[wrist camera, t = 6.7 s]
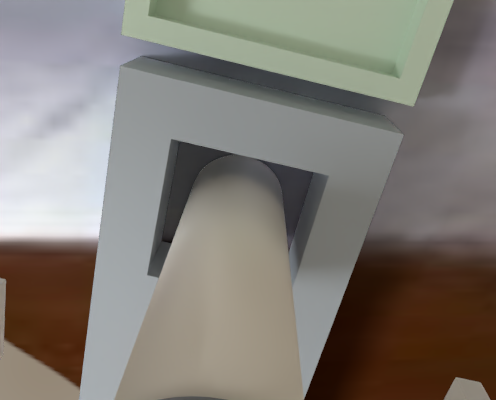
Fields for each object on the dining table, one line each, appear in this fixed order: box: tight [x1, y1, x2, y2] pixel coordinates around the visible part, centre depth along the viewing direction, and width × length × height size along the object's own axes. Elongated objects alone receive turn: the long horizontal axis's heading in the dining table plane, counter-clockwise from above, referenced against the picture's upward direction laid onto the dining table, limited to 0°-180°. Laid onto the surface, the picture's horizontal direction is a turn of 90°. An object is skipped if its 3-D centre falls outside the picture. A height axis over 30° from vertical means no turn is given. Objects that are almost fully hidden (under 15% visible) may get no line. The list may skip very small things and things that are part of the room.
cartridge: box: [114, 155, 304, 400], centre depth 17 cm, size 5×5×17 cm
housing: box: [79, 56, 404, 400], centre depth 25 cm, size 12×20×4 cm, turn 167°
